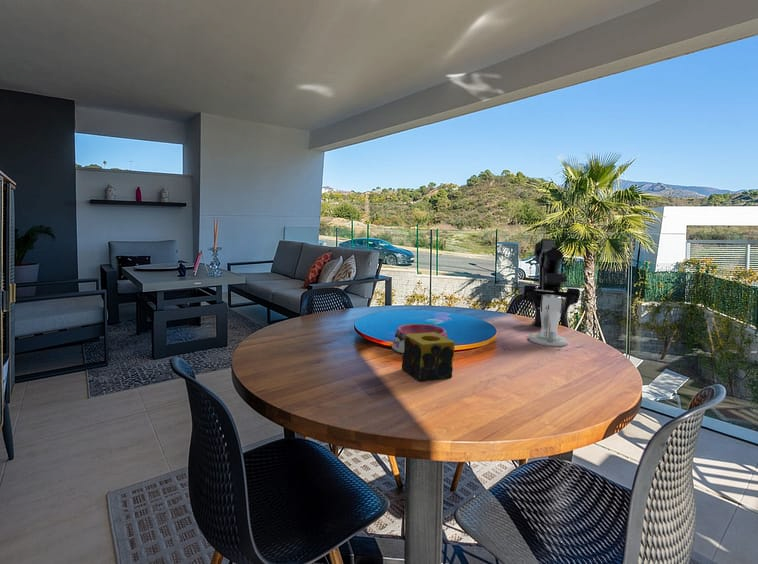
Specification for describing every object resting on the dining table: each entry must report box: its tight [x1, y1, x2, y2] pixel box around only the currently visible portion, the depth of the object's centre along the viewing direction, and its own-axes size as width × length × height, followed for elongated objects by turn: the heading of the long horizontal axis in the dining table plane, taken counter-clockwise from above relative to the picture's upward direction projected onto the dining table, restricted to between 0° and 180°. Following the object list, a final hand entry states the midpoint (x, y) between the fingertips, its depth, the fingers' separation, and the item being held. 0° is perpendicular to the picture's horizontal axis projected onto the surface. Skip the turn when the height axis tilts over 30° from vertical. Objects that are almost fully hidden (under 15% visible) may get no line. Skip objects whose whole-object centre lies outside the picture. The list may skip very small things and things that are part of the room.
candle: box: [401, 332, 456, 383], centre depth 110 cm, size 10×10×10 cm
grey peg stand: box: [528, 331, 569, 348], centre depth 148 cm, size 13×13×5 cm
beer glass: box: [539, 294, 563, 340], centre depth 147 cm, size 7×7×15 cm
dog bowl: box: [391, 323, 448, 356], centre depth 133 cm, size 18×19×7 cm
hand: (550, 313), depth 146 cm, fingers open, 9 cm apart
